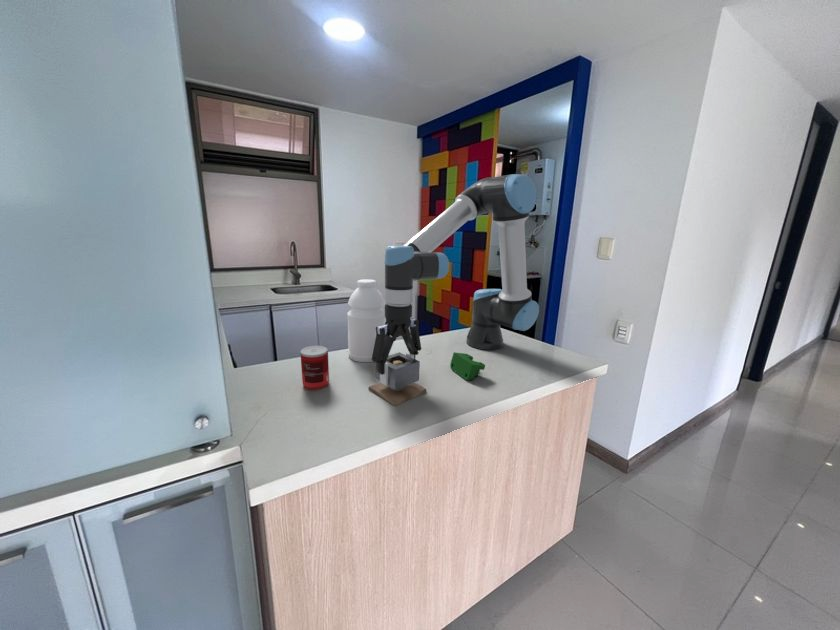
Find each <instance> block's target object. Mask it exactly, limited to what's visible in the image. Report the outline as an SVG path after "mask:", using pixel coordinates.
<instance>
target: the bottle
mask: <svg viewBox="0 0 840 630" xmlns="http://www.w3.org/2000/svg"><path fill="white" fill-rule="evenodd" d="M356 286H357V287H356V288H355V289H354V291H353V292H352V293H351V295H350V297H349V299H348V301H347V305H348V306H349V307H350V310H349V311H348V312H347V314H346V316H347V343H348V344H347V345H348V351H347V353H348V354H347V355H348V357H349V358H350V359H351V360H352V361H354V362H355V361H356V362H360V363H375V362H374V361H372V355H373V349H374V344H375V339H376V326H383V325H385V322H386V318H385V304H386V302H385V296H384V295H383V293H382V292H381V291H380V290H379V288H377V280H375V279H372V278H371V279H367V278H365V279H363V278H362V279H359V280H356Z"/></svg>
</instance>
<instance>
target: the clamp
mask: <svg viewBox="0 0 840 630" xmlns="http://www.w3.org/2000/svg"><path fill="white" fill-rule="evenodd" d="M449 367H450V369H451V370H452V371H454V372H455V374H457V375H459V376H460V377H461V378H462V379H464V380H466V381H473V380H474V379H475V377H478V376H479V374H480V371H484V370H485V368H486V364H484V363H483V362H481V361H476V360H474V357H473V356H472V355H470V354H468V353H462V352H456V351H455V352H453V353H452V358H451V361H450V365H449Z"/></svg>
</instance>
